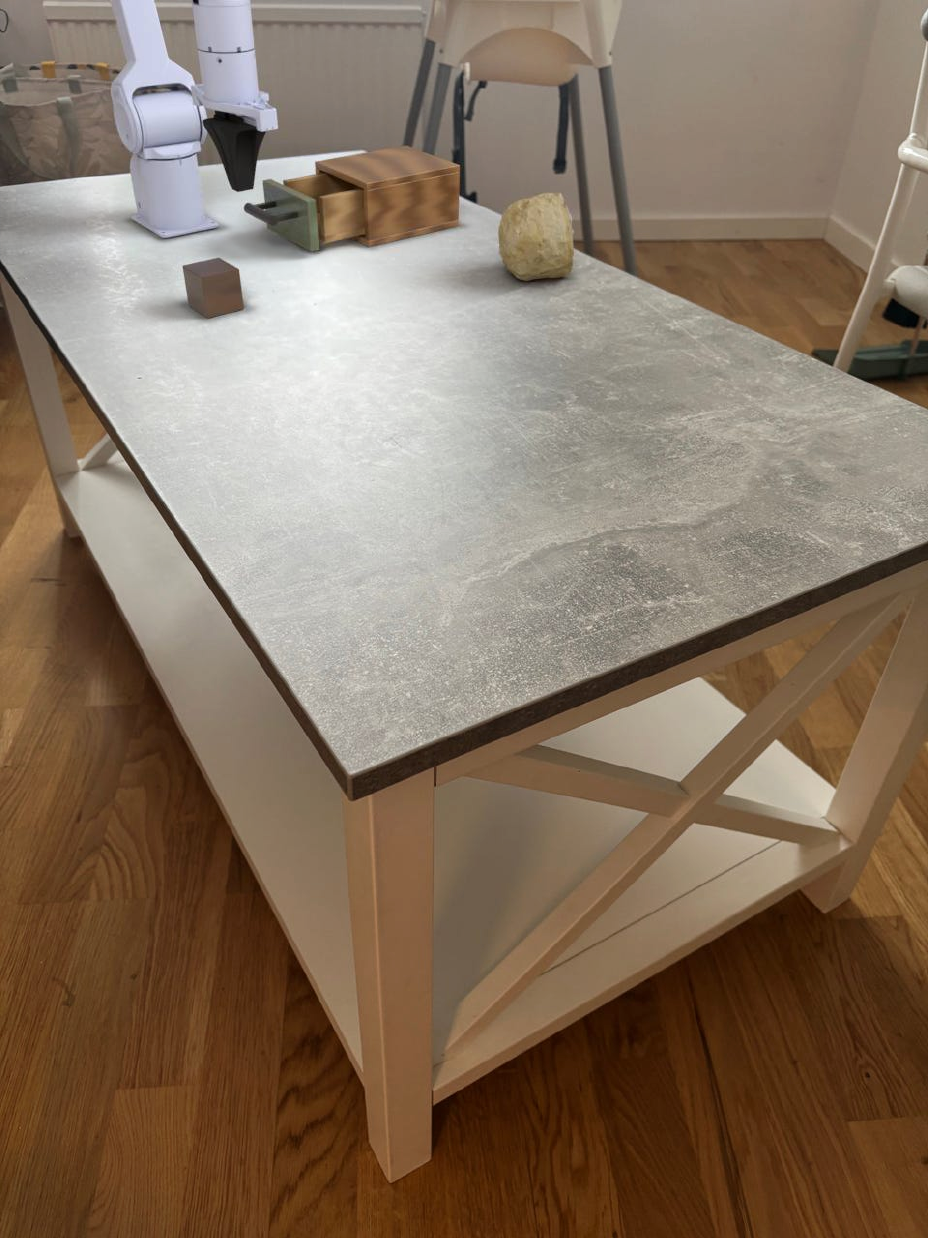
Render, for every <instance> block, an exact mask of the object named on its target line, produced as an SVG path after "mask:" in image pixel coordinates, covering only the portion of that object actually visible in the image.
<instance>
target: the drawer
mask: <svg viewBox="0 0 928 1238" xmlns="http://www.w3.org/2000/svg"><path fill="white" fill-rule="evenodd" d="M261 182H262V191H263V201H264V202H261V203H255V204H253V203H251V202H246V203H245V204H244V206H243V211H244V212H245V213H246V214H248V215H250V216H252V217H254V218H256V219H258V220H260V221H262V222H264V223H265V224H266V229H268V230H270V231H271V232H273V233H275V234H277V235H279V236H281V237H283V238H285V239H287V240H288V241H291V242H292V243H295V244H296V245H298V246H300V247H302V248H304V249H306V250H307V251H310V252H315V251H319V250H320V242H322V243H324V244H329V243H332V242H333V243H334V242H337V241H341V240H345V239H349V238H350V237H355V236H359V235H363V234H365V212H364V189H363V188H361V187H359V186H356V185H354V184H352V183H349V182H347V181H345V180H342V179H340V178H338V177H335V176H333V175H331V174H328V173H326V172H325V173H320V174H316V173H315V174H310V175H304V176H299V177H293V178H288V179H283V180H282V183H281V182H279V181H277V180H274V179H273V178H268V179H267V178H266V179H262V180H261ZM350 239H351V238H350Z"/></svg>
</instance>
